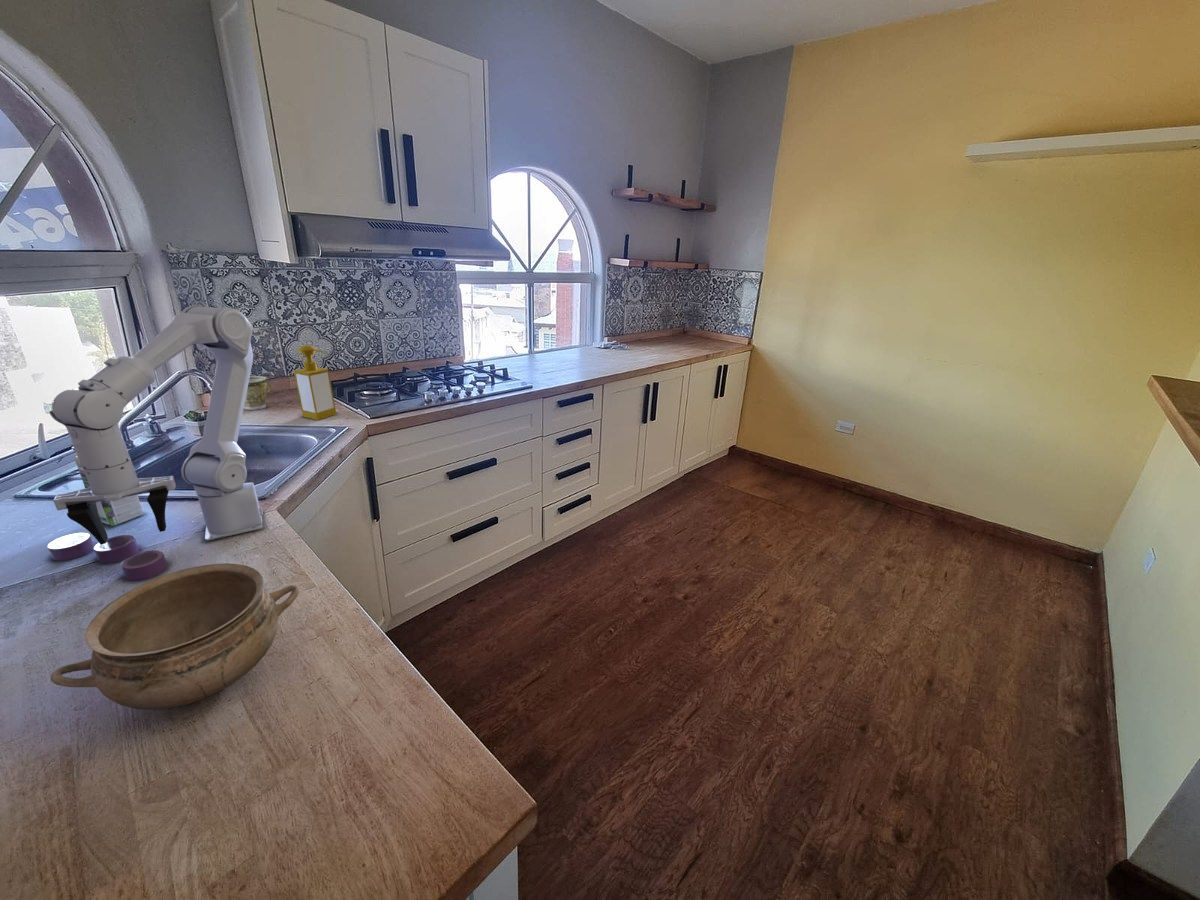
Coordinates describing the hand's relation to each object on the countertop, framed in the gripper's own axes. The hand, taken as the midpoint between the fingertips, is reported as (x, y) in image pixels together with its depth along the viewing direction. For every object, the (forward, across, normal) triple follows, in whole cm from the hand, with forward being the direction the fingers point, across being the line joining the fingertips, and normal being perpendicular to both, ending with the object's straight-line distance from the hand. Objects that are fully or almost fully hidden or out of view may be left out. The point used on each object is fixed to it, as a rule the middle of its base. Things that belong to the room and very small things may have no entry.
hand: (134, 534), depth 86 cm
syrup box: (+8, -7, +26) cm, 28 cm away
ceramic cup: (+8, +19, +100) cm, 102 cm away
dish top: (+7, -12, +14) cm, 20 cm away
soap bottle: (+8, +37, +79) cm, 88 cm away
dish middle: (+7, 0, 0) cm, 7 cm away
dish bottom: (+7, -5, +9) cm, 13 cm away
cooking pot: (+7, +10, -34) cm, 36 cm away
